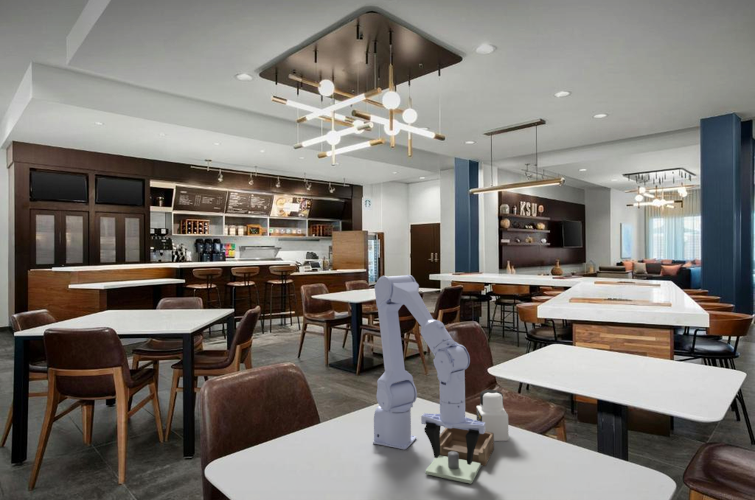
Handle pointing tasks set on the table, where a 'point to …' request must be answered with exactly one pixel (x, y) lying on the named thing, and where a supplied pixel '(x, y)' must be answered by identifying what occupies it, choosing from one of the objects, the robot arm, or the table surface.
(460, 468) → the cover plate
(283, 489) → the table surface
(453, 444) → the walnut box
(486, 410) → the medicine bottle
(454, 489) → the table surface
